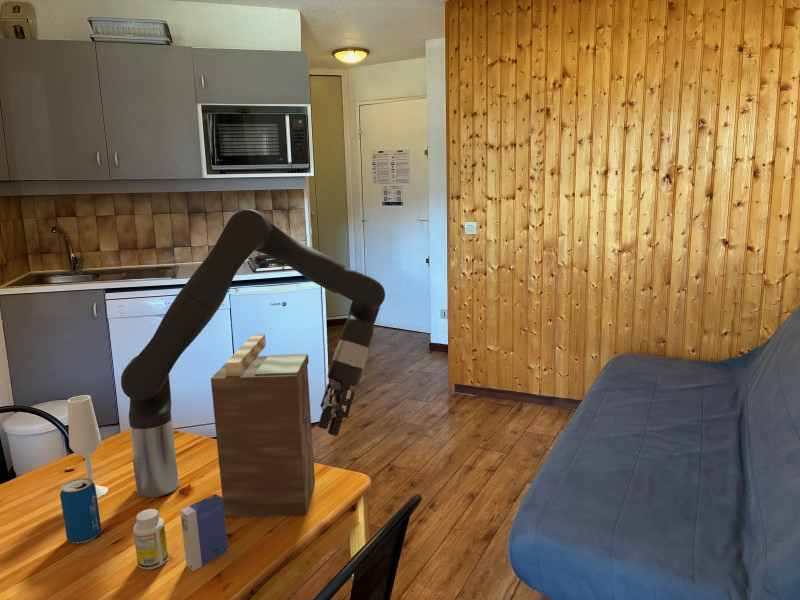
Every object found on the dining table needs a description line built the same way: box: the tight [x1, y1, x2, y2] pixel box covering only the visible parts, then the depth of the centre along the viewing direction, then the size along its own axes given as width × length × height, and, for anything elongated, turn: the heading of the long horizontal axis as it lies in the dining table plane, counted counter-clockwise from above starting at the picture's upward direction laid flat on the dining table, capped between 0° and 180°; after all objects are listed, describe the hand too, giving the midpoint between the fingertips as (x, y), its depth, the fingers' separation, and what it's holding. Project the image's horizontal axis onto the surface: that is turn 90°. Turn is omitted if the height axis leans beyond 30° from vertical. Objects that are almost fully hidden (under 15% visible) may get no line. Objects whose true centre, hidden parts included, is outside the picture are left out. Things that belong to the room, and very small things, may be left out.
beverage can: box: [59, 477, 102, 545], centre depth 124 cm, size 6×6×12 cm
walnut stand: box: [210, 353, 316, 519], centre depth 135 cm, size 16×18×32 cm
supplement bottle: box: [132, 508, 169, 570], centre depth 115 cm, size 6×6×10 cm
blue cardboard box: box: [179, 493, 229, 572], centre depth 115 cm, size 8×3×12 cm, turn 139°
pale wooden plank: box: [224, 333, 267, 377], centre depth 137 cm, size 24×3×3 cm, turn 0°
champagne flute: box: [67, 394, 109, 499], centre depth 141 cm, size 7×7×24 cm
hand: (327, 431), depth 135 cm, fingers open, 8 cm apart
